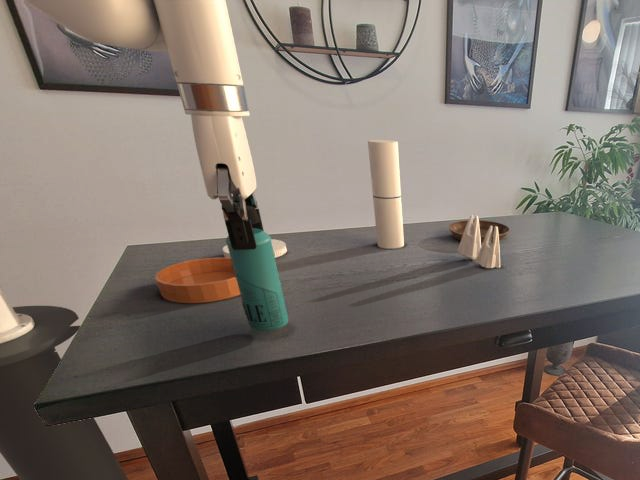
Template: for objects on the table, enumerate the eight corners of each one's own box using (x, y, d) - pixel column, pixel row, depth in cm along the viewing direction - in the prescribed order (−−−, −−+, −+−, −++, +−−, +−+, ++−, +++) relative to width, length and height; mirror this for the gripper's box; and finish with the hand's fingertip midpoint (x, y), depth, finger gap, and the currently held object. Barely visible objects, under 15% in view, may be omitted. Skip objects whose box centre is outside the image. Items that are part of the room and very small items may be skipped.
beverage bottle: (294, 322, 78) (269, 202, 67) (287, 339, 72) (259, 211, 62) (255, 323, 77) (223, 202, 66) (245, 341, 71) (208, 211, 61)
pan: (147, 306, 82) (140, 288, 80) (176, 275, 96) (170, 259, 94) (248, 299, 86) (243, 282, 84) (261, 271, 100) (257, 255, 98)
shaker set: (456, 258, 112) (456, 213, 106) (468, 255, 114) (468, 210, 108) (489, 270, 105) (491, 222, 99) (501, 267, 107) (504, 220, 101)
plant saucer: (516, 245, 124) (517, 234, 123) (454, 247, 121) (454, 235, 119) (500, 229, 139) (501, 219, 137) (444, 230, 135) (444, 220, 133)
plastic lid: (295, 249, 114) (293, 239, 113) (275, 266, 103) (273, 255, 101) (240, 248, 114) (237, 238, 112) (214, 265, 102) (211, 254, 101)
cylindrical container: (381, 249, 117) (371, 142, 103) (374, 242, 122) (364, 139, 108) (407, 247, 119) (401, 142, 106) (400, 240, 125) (393, 139, 111)
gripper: (200, 99, 63) (234, 228, 73) (159, 101, 49) (207, 260, 59) (257, 102, 65) (282, 227, 74) (233, 104, 51) (268, 258, 60)
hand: (249, 241), depth 66 cm, fingers closed on beverage bottle, 6 cm apart
